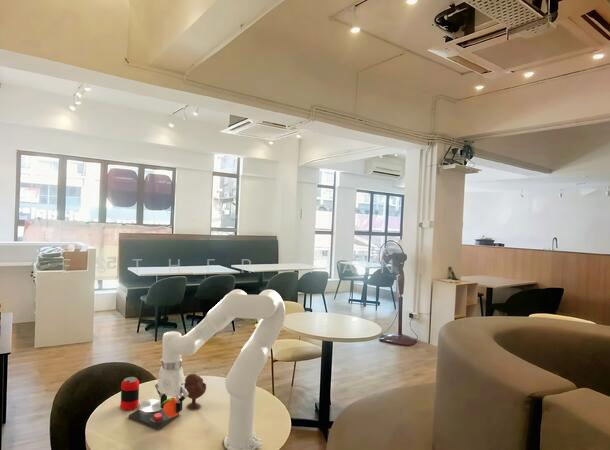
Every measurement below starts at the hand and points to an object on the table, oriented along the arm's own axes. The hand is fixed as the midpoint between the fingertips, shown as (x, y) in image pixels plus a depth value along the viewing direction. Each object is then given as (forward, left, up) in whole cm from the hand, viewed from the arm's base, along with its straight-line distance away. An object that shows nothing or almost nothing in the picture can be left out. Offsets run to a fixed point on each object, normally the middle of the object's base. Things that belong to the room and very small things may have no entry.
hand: (171, 408), depth 145 cm
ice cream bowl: (+4, -21, -9) cm, 23 cm away
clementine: (0, 0, -3) cm, 3 cm away
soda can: (+28, -6, -9) cm, 30 cm away
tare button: (+7, -1, -6) cm, 10 cm away
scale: (+13, -5, -9) cm, 16 cm away
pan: (+15, -6, -6) cm, 17 cm away
